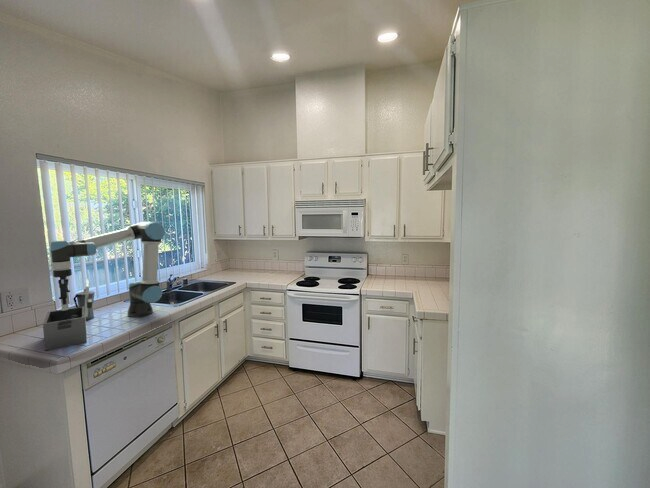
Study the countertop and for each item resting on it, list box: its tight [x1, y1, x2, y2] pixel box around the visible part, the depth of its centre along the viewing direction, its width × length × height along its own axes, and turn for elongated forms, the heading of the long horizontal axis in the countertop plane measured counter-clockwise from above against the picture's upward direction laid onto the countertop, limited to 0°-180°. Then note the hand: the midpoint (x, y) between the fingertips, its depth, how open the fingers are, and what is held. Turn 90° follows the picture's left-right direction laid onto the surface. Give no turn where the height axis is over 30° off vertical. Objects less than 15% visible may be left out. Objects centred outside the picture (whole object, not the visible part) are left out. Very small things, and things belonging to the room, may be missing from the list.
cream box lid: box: [84, 278, 93, 317], centre depth 166 cm, size 16×34×3 cm
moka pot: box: [73, 288, 95, 321], centre depth 197 cm, size 10×15×20 cm, turn 2°
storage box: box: [42, 306, 88, 352], centre depth 162 cm, size 16×30×14 cm, turn 39°
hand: (65, 307), depth 164 cm, fingers open, 13 cm apart
